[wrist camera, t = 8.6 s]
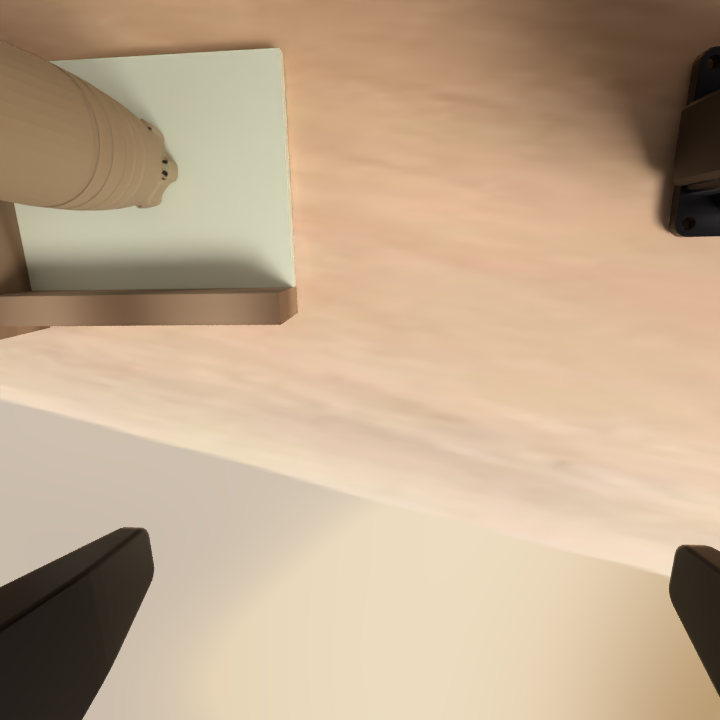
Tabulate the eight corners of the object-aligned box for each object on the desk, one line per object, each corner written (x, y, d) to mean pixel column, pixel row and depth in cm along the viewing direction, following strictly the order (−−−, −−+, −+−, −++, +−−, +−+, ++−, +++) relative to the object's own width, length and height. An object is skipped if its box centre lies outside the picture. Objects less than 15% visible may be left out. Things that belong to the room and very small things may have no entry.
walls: (282, 36, 17) (259, -6, 14) (298, 326, 20) (281, 339, 17) (-32, 55, 18) (-113, 20, 15) (26, 327, 21) (-33, 340, 18)
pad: (283, 54, 17) (279, 47, 17) (296, 286, 20) (293, 287, 19) (-2, 70, 18) (-15, 64, 18) (42, 289, 21) (32, 290, 20)
